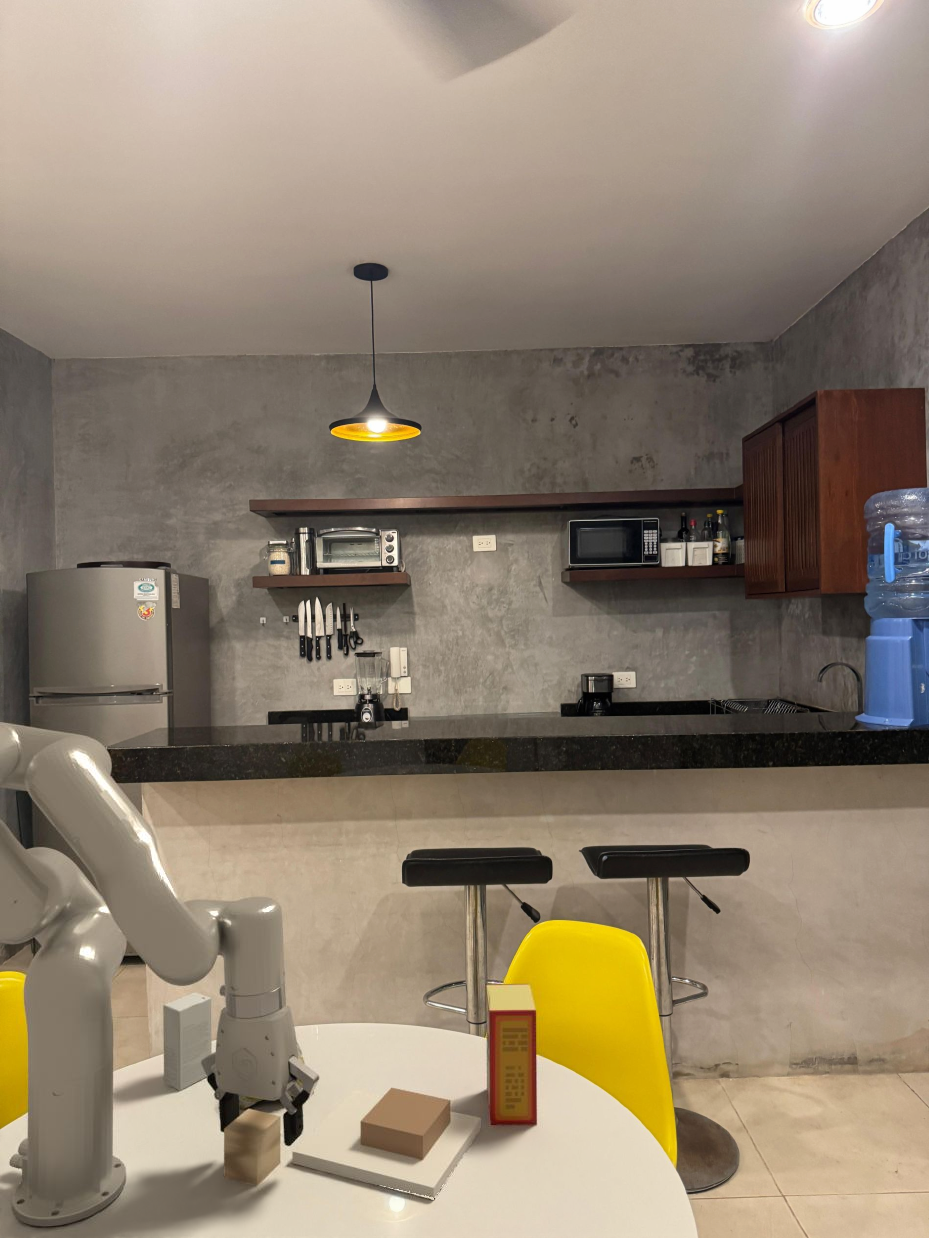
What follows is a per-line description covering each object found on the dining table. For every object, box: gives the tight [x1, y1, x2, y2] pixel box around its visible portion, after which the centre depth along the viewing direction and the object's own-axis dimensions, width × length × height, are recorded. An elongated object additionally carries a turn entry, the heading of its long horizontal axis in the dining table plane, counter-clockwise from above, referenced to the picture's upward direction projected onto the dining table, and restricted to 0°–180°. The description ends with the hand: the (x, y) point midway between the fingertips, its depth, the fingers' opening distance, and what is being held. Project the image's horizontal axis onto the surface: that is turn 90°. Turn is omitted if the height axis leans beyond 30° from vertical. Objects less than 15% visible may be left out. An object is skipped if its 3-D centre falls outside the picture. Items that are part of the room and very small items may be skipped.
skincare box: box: [162, 991, 213, 1092], centre depth 130 cm, size 6×4×12 cm
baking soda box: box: [485, 983, 538, 1126], centre depth 122 cm, size 10×6×16 cm
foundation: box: [291, 1087, 482, 1198], centre depth 112 cm, size 20×16×4 cm
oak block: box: [223, 1108, 281, 1187], centre depth 107 cm, size 5×5×6 cm
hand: (261, 1132), depth 108 cm, fingers open, 9 cm apart
